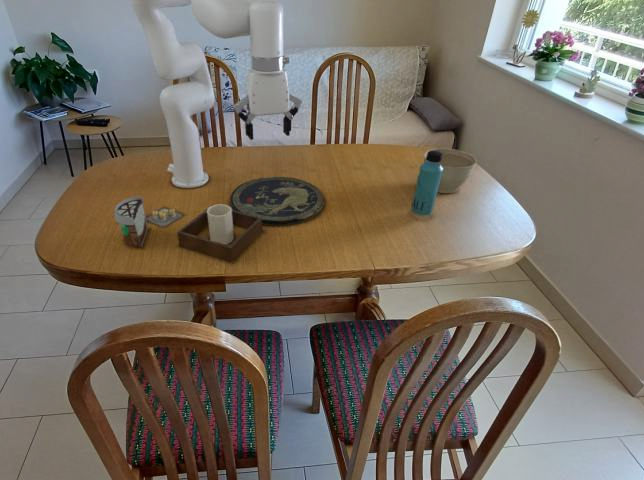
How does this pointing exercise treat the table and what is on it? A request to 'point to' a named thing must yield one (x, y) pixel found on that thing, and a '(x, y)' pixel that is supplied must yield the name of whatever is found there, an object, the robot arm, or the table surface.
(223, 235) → the cup
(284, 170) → the table surface
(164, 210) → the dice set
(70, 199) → the table surface
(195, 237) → the wooden box
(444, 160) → the planter bowl
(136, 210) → the food container
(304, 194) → the decorative plate
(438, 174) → the beverage bottle
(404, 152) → the table surface
